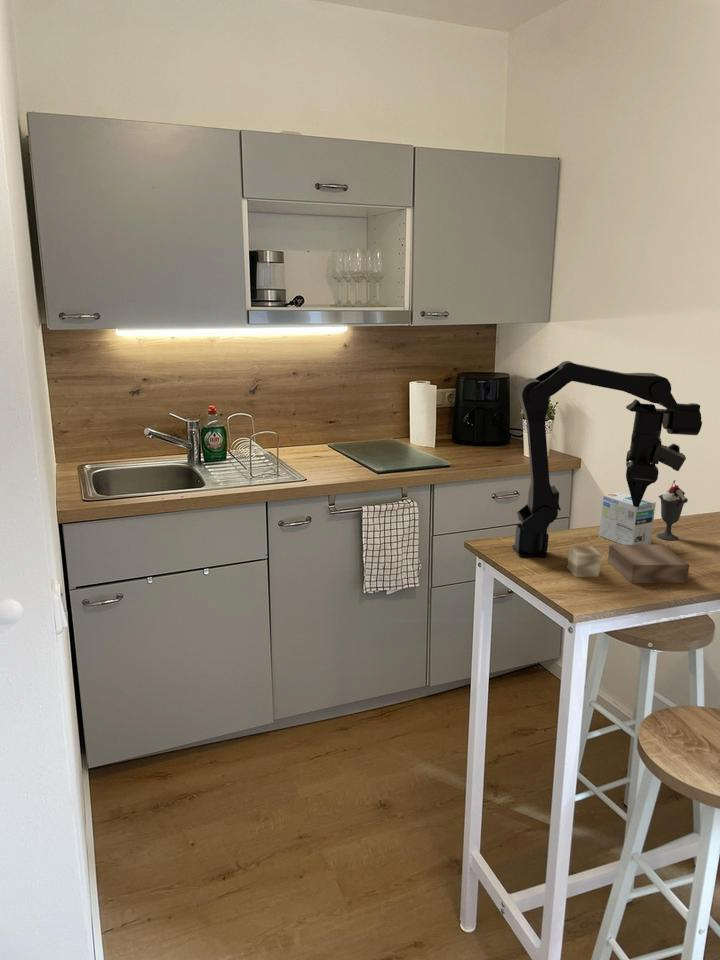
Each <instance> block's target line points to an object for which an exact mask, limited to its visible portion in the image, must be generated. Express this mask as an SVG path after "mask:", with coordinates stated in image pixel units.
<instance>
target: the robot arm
mask: <svg viewBox="0 0 720 960" xmlns="http://www.w3.org/2000/svg"><path fill="white" fill-rule="evenodd" d="M572 382H574V383H580V384H586V385H590V386H595V387H599V388H600V387H601V388H606V389H610V390H616V391H621V392H624V393H627V394H630V395H632V396H634V397H637V398H640V399H642V400H644V401H647V402H649V403H642V402H641V401H640V400H639V399H636V398H635V399H633V401H632V402H631V403H629V404H628V405H626V406H625V409H626V410H628V411H630V412H632V413H635V414H634V421H633V427H632V433H631V440H630V446H629V450H627V451H626V452H627V453H626V459H625V461H626V462H625V465H626V469H625V470H626V471H625V479H626V482H627V486H628V491H629V495H631V498H632V502H633V506H634V507H639V505H640V503H641V500H642V499H644V498H643V497H644V496H645V493H646V491H647V488H648V487H649V486H650V485H651V484H654V483H656V482H657V481H658V479H659V472H660V471H659V467H658V466H657V465H659V463H661V464H663V465H665V466H667V467H670V468H672V470H674V471H676V472H680V470H681V468H682V466H683V464H684V463H685V462H686V460H687V457H686V455H685V454H684V453H682V452H680V449H681V448H680V446H679V444H675V443H671V444H670V445H668V446H667V445H664V444H662V443H663V442H662V439H661V433H662V428H663V430H666V432H667V434H668V435H680V436H681V435H682V436H698V435H699V433H700V432H701V430H702V426H703V421H702V413H701V411H700V410H701V405H700V404H698V403H677V400H676V399H675V397H674V396H673V394H672V384H671V382H670V381H669V379H668V378H667V377H664V376H661V375H659V374H656V373H653V372H629V373H628V372H620V371H614V370H611V369H610V370H609V369H605V368H600V367H594V366H590V365H585V364H579V363H574V362H572V361H570V360H565V361H562V362H560V363H559V364H558V365H556V366H555V367H553V368H550V369H549V370H547V371H545V372H543V373H542V374H540V375H538V376H536V377H534V378H532V377H529V378H527V379H525V380H523V381H522V382H521V383H520V385H519V386H518V389H517V393H518V394H517V395H518V398H519V403H520V406H521V408H522V411H523V414H524V419H525V421H526V432H527V434H526V435H527V446H528V456H529V458H528V459H529V469H530V486H529V490H528V497H527V504H526V505H524V506H523V507H522V508H521V509H519V510H518V511H517V512H516V515H517V518H518V520H519V522H520V523H517V524H515V525H516V527H515V540H514V544H512V549H513V551H515V553H516V554H517V555H518V556H519V557H520V558H523V557H524V558H525V557H526V558H531V557H535V558H536V557H537V558H538V557H539V558H540V557H541V558H542V557H543V558H545V557H548V553H547V552H548V547H549V546H548V545H549V537H550V536H549V534H548V529H549V526H550V524H552V523H554V522H555V520H557V518H558V517H559V516H558V515H559V511H561V510H562V509H561V507H560V503H559V502H560V491H558V488H557V487H556V486H555V485H551V482H550V481H551V480H550V472H549V471H550V470H549V469H550V468H549V457H548V445H547V444H548V443H547V431H546V429H547V428H546V419H547V416H548V411H549V404H550V403H549V401H550V398H551V397H552V396H554V395H555V394H557V393H558V392H559V391H561V390H562V389H563V388H565V386H567V385H568V384H570V383H572ZM655 404H657V405H659V406H661V407H663V408H656V405H655Z"/></svg>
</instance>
